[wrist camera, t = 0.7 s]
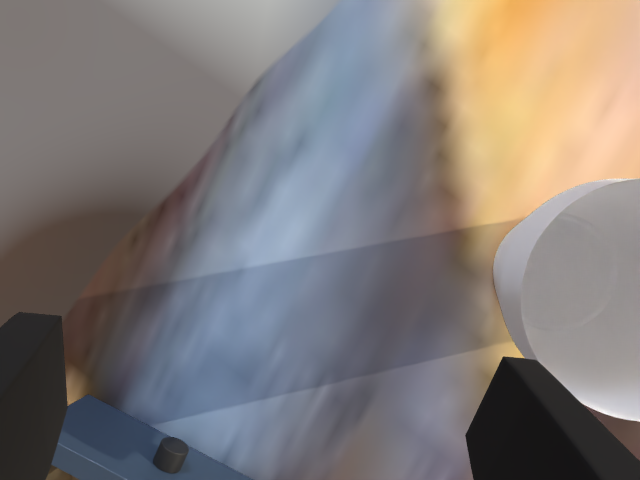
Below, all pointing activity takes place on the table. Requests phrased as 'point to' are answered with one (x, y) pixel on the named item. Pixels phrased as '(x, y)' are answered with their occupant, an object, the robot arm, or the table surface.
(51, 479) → the drawer
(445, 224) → the table surface
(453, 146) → the table surface
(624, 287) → the cup
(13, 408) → the robot arm
